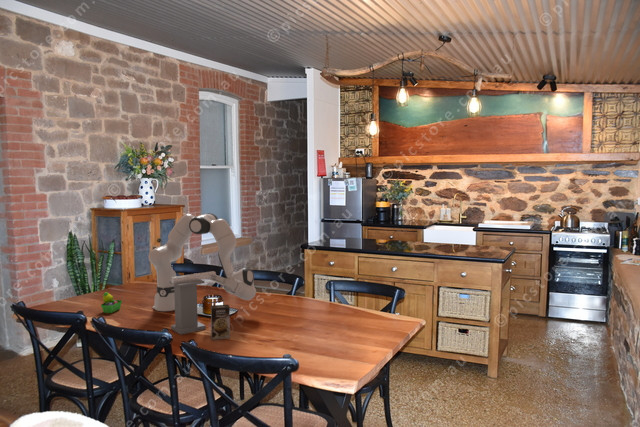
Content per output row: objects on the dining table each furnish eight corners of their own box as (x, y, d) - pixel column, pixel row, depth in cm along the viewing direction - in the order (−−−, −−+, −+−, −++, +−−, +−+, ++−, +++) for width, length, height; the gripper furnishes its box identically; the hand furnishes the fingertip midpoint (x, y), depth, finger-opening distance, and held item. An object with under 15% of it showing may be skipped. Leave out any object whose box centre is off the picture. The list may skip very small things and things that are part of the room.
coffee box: (211, 340, 249) (211, 308, 247) (211, 336, 255) (210, 305, 254) (230, 338, 251) (229, 307, 250) (229, 334, 257) (228, 303, 256)
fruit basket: (111, 313, 294) (111, 295, 293) (98, 313, 296) (97, 294, 295) (123, 308, 305) (122, 290, 304) (110, 307, 307) (109, 289, 306)
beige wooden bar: (213, 276, 275) (213, 271, 275) (215, 277, 273) (215, 272, 272) (171, 282, 260) (171, 277, 260) (173, 283, 258) (173, 278, 257)
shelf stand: (195, 323, 275) (194, 277, 273) (205, 329, 266) (204, 281, 264) (171, 328, 266) (169, 281, 264) (180, 334, 257) (179, 285, 255)
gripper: (224, 276, 290) (205, 267, 282) (243, 283, 274) (223, 273, 266) (220, 286, 288) (200, 278, 280) (238, 294, 273) (218, 284, 264)
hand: (212, 276), depth 273 cm, fingers open, 8 cm apart
